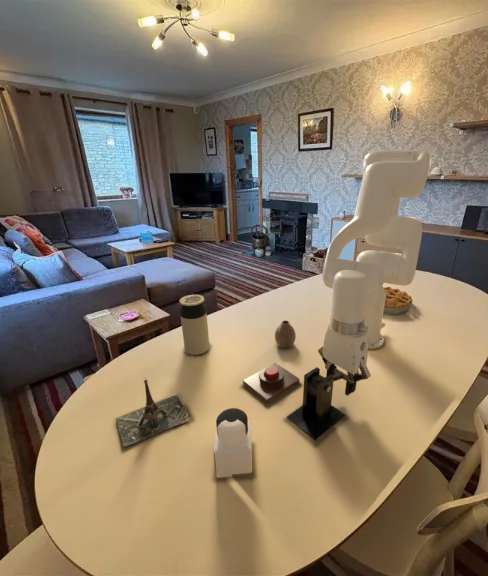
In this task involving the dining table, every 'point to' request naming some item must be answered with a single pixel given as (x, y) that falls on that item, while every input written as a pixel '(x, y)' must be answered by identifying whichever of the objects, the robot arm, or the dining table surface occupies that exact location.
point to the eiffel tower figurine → (151, 418)
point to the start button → (271, 372)
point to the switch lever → (319, 378)
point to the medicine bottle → (232, 443)
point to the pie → (396, 301)
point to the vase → (285, 335)
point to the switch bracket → (316, 407)
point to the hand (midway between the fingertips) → (340, 386)
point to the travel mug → (194, 324)
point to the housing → (271, 383)
